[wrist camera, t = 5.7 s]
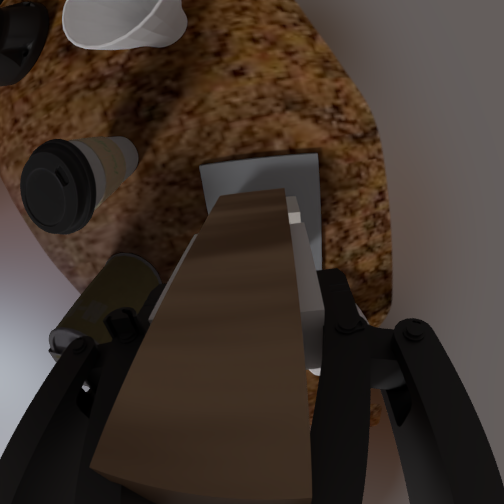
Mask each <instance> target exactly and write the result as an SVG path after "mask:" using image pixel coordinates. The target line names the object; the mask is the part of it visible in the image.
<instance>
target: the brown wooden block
mask: <svg viewBox="0 0 504 504" xmlns="http://www.w3.org/2000/svg"><path fill="white" fill-rule="evenodd" d="M89 467H90V468H91V469H92V470H94V471H95V472H97V473H98V474H100V475H101V476H103V477H105V478H106V479H108V480H109V481H111V482H114V483H118V484H121V485H123V486H124V487H126V488H128V489H130V490H131V491H133V492H135V493H137V494H138V495H140V496H142V497H144V498H146V499H148V500H150V501H152V502H154V503H156V504H311V501H312V471H311V446H310V427H309V410H308V395H307V381H306V368H305V356H304V345H303V334H302V324H301V314H300V305H299V295H298V286H297V278H296V269H295V261H294V253H293V245H292V238H291V230H290V223H289V216H288V209H287V202H286V195H285V188H279V189H270V190H261V191H252V192H244V193H236V194H229V195H221V196H219V198H218V200H217V201H216V203H215V205H214V207H213V208H212V210H211V212H210V214H209V215H208V217H207V219H206V221H205V222H204V224H203V226H202V228H201V229H200V231H199V233H198V235H197V237H196V238H195V240H194V242H193V244H192V246H191V248H190V249H189V251H188V253H187V255H186V257H185V259H184V260H183V262H182V264H181V266H180V268H179V270H178V272H177V274H176V275H175V277H174V279H173V281H172V283H171V285H170V287H169V289H168V291H167V293H166V295H165V297H164V299H163V301H162V303H161V305H160V307H159V309H158V311H157V313H156V315H155V317H154V319H153V321H152V323H151V325H150V327H149V329H148V331H147V333H146V335H145V337H144V339H143V341H142V343H141V345H140V348H139V350H138V352H137V354H136V356H135V358H134V360H133V363H132V365H131V367H130V369H129V371H128V374H127V376H126V378H125V380H124V382H123V385H122V387H121V389H120V392H119V394H118V396H117V398H116V401H115V403H114V405H113V408H112V410H111V413H110V415H109V417H108V420H107V422H106V425H105V427H104V430H103V432H102V435H101V437H100V440H99V442H98V445H97V447H96V450H95V453H94V455H93V458H92V461H91V463H90V466H89Z"/></svg>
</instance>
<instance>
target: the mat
mask: <svg viewBox="0 0 504 504" xmlns="http://www.w3.org/2000/svg"><path fill="white" fill-rule="evenodd" d="M199 168H200V173H201V179H202V184H203V190H204V195H205V200H206V206H207V211H208V215H209V214H210V212H211V210H212V208H213V207H214V205H215V203H216V201H217V200H218V198H219V196H221V195H229V194H236V193H244V192H252V191H261V190H270V189H279V188H285V195H286V197H289V196H296V199H297V203H298V206H299V210H300V219H301V223H304V224H305V228H306V232H307V235H308V239H309V244H310V248H311V252H312V256H313V260H314V264H315V269H316V270H322V240H321V203H320V182H319V164H318V153H303V154H290V155H278V156H267V157H257V158H248V159H240V160H232V161H224V162H217V163H210V164H203V165H200V166H199Z"/></svg>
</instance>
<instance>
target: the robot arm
mask: <svg viewBox="0 0 504 504" xmlns="http://www.w3.org/2000/svg"><path fill="white" fill-rule="evenodd" d="M2 2H3V0H0V5H1V3H2ZM48 25H49V17H48V12H47V9H46V8H45V6H44V5H42V4H40V3H36V2H22V3H18V4H13V5H9V6H5V7H2V8H0V86H7V85H13V84H15V83H17V82H18V81H20V80H21V79H22V78H23V77H24V76H25V75H26V74H27V73H28V72H29V71H30V69H31V68H32V67H33V65H34V64H35V62H36V60H37V58H38V57H39V55H40V52H41V50H42V48H43V45H44V43H45V40H46V36H47V32H48ZM290 230H291V238H292V245H293V253H294V261H295V269H296V278H297V286H298V295H299V305H300V314H301V324H302V334H303V345H304V356H305V368H306V370H307V369H318V368H321V370H320V377H319V384H318V391H317V397H316V403H315V409H314V415H313V420H312V426H311V431H310V446H311V471H312V501H311V504H362V499H363V492H364V484H365V476H366V467H367V456H368V443H369V426H370V388H376V389H380V390H381V393H382V395H383V399H384V402H385V406H386V409H387V412H388V416H389V419H390V423H391V426H392V430H393V433H394V437H395V441H396V445H397V449H398V452H399V456H400V460H401V464H402V469H403V473H404V477H405V481H406V486H407V491H408V496H409V501H410V504H504V486H503V483H502V479H501V476H500V473H499V470H498V467H497V464H496V461H495V458H494V455H493V452H492V450H491V447H490V444H489V442H488V440H487V437H486V434H485V432H484V430H483V427H482V425H481V422H480V420H479V418H478V416H477V413H476V411H475V409H474V406H473V404H472V402H471V400H470V398H469V396H468V394H467V392H466V390H465V387H464V385H463V383H462V382H461V380H460V378H459V376H458V374H457V372H456V370H455V368H454V366H453V364H452V363H451V361H450V359H449V357H448V355H447V353H446V351H445V350H444V348H443V346H442V344H441V343H440V341H439V339H438V337H437V336H436V334H435V332H434V331H433V329H432V328H431V327H430V325H429V324H428V323H426V322H424V321H422V320H419V319H414V318H412V319H411V318H410V319H405V320H402V321H400V322H399V323H398V324H397V325H396V326H395V329H394V330H392V329H382V328H377V327H373V326H371V325H369V324H368V323H367V321H366V320H365V319H364V318H363V317H361V316H360V315H359V313H358V310H357V307H356V304H355V301H354V298H353V295H352V293H351V291H350V287H349V284H348V282H347V279H346V276H345V274H344V273H342V272H341V271H340V270H339V269H338V268H335V269H325V270H316V269H315V264H314V260H313V256H312V252H311V248H310V244H309V239H308V235H307V232H306V228H305V224H304V223H294V224H290ZM197 235H198V234H195V235H194V236H193V238H192V240H191V241H190V243H189V245H188V247H187V249H186V250H185V252H184V254H183V256H182V257H181V259H180V261H179V263H178V265H177V266H176V268H175V270H174V272H173V274H172V275H171V277H170V279H169V281H168V283H167V284H159V285H158V286H156V287H155V288H154V289H153V290H152V291H151V292H150V294H149V296H148V297H147V300H146V301H145V302H144V304H143V306H142V308H141V309H140V311H139V313H138V315H137V312H136V311H135V310H134V309H133V308H131V307H122V308H118V309H116V310H114V311H112V312H110V313H109V314H108V315H107V316H106V317H105V318H104V320H103V323H104V324H105V326H106V328H107V330H108V332H109V334H110V335H111V337H112V341H111V342H107V343H103V344H98V345H96V343H95V341H94V340H93V339H92V337H89V336H82V337H78V338H76V339H75V340H73V341H72V342H71V343H70V344H69V345H68V347H67V348H66V350H65V351H64V352H63V354H62V355H61V357H60V358H59V360H58V361H57V363H56V364H55V366H54V367H53V369H52V370H51V372H50V373H49V375H48V376H47V378H46V379H45V381H44V382H43V384H42V386H41V387H40V389H39V391H38V392H37V394H36V395H35V397H34V399H33V400H32V402H31V403H30V405H29V407H28V408H27V410H26V412H25V414H24V415H23V417H22V419H21V421H20V423H19V424H18V426H17V428H16V430H15V432H14V433H13V435H12V437H11V439H10V441H9V443H8V445H7V447H6V449H5V451H4V453H3V455H2V457H1V459H0V504H156V503H154V502H152V501H150V500H148V499H146V498H144V497H142V496H140V495H138V494H137V493H135V492H133V491H131V490H130V489H128V488H126V487H124V486H123V485H121V484H118V483H114V482H111V481H109V480H108V479H106V478H105V477H103V476H101V475H100V474H98V473H97V472H95V471H94V470H92V469H91V468H90V467H89V466H90V463H91V461H92V458H93V455H94V453H95V450H96V447H97V445H98V442H99V440H100V437H101V435H102V432H103V430H104V427H105V425H106V422H107V420H108V417H109V415H110V413H111V410H112V408H113V405H114V403H115V401H116V398H117V396H118V394H119V392H120V389H121V387H122V385H123V382H124V380H125V378H126V376H127V374H128V371H129V369H130V367H131V365H132V363H133V360H134V358H135V356H136V354H137V352H138V350H139V348H140V345H141V343H142V341H143V339H144V337H145V335H146V333H147V331H148V329H149V327H150V325H151V323H152V321H153V319H154V317H155V315H156V313H157V311H158V309H159V307H160V305H161V303H162V301H163V299H164V297H165V295H166V293H167V291H168V289H169V287H170V285H171V283H172V281H173V279H174V277H175V275H176V274H177V272H178V270H179V268H180V266H181V264H182V262H183V260H184V259H185V257H186V255H187V253H188V251H189V249H190V248H191V246H192V244H193V242H194V240H195V238H196V237H197ZM84 382H86V384H87V385H88V386H89V388H90V389H89V390H88V391H87V392H85V391H84V390H83V389H82V386H83V384H84Z"/></svg>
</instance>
